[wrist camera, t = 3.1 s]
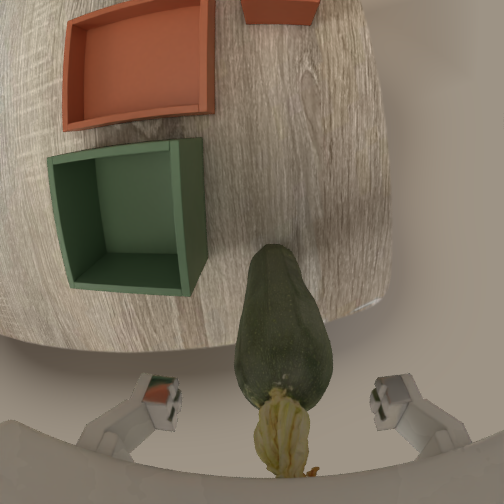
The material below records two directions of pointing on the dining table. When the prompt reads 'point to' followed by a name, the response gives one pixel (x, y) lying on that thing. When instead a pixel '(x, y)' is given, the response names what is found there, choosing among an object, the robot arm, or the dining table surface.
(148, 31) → the terracotta tray
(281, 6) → the terracotta block
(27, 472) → the robot arm
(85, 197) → the produce bin
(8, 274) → the dining table surface
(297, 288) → the vegetable
